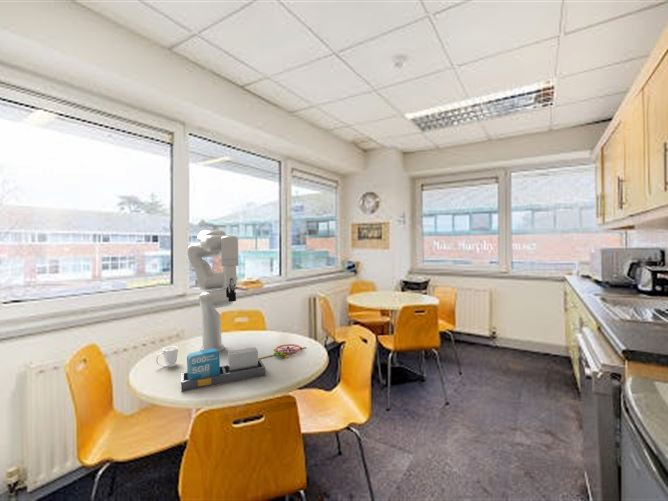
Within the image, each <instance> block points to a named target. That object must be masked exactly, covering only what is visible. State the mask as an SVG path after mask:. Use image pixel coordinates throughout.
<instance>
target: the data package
mask: <svg viewBox="0 0 668 501" xmlns="http://www.w3.org/2000/svg"><path fill="white" fill-rule="evenodd" d="M220 356H221V355H220V351H219V352H218V351H217V350H216V349H214V348H213V349H208V350H203V351H200V350H199V351H194V352H190V353H189V354H187V357H186V365H187V366H186V369H187V371H186V372H188V380H191V379H197V378H203V377H208V376H214V375H220V366H221V362H220V361H221V360H220Z"/></svg>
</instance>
